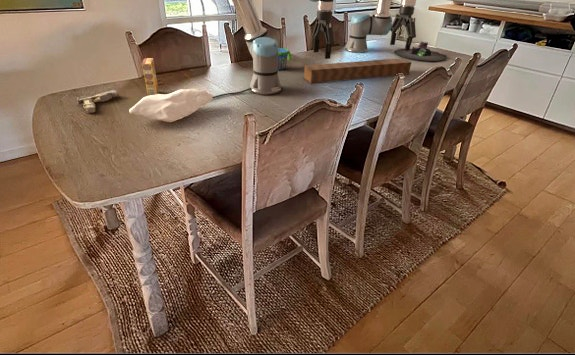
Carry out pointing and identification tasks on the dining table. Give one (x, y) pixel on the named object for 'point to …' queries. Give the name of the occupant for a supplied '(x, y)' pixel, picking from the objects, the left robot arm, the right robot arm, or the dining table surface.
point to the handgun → (95, 100)
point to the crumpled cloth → (171, 104)
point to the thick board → (356, 70)
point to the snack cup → (283, 58)
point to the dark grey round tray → (420, 53)
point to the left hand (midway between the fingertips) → (321, 55)
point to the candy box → (150, 76)
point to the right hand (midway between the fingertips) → (399, 47)
